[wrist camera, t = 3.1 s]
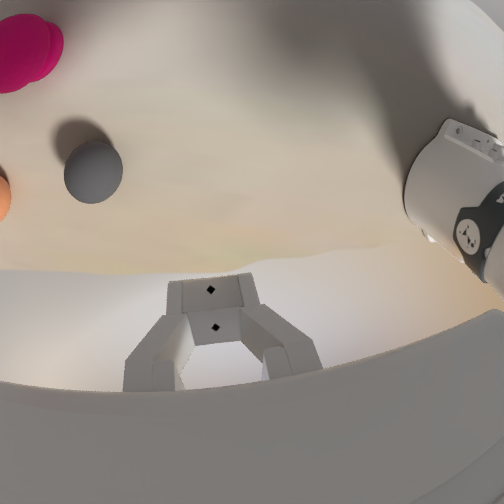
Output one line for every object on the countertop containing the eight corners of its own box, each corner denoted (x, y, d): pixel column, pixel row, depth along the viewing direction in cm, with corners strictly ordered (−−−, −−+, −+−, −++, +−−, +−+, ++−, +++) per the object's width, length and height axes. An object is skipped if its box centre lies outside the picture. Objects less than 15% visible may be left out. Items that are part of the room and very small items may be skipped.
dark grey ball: (119, 126, 22) (101, 142, 18) (135, 179, 26) (123, 205, 21) (70, 145, 22) (45, 165, 18) (88, 194, 25) (69, 222, 21)
